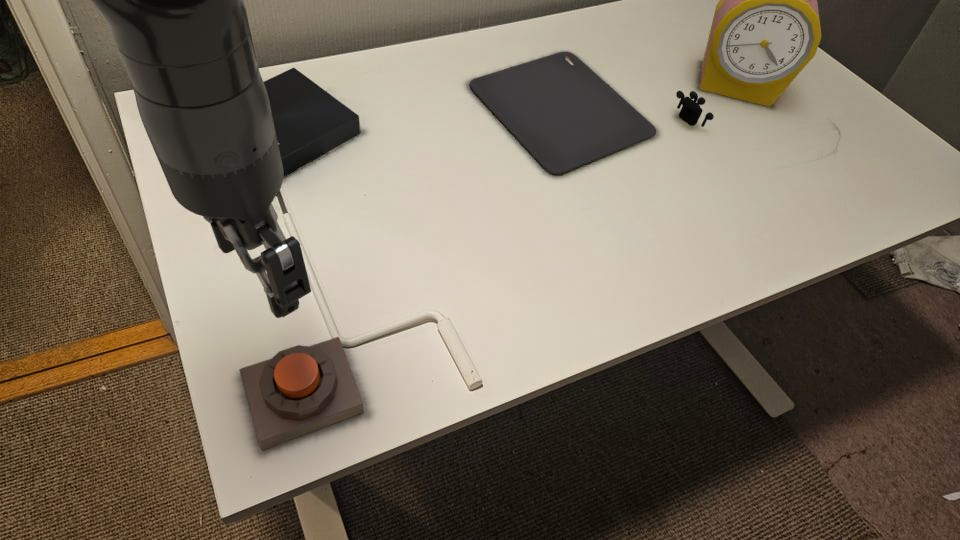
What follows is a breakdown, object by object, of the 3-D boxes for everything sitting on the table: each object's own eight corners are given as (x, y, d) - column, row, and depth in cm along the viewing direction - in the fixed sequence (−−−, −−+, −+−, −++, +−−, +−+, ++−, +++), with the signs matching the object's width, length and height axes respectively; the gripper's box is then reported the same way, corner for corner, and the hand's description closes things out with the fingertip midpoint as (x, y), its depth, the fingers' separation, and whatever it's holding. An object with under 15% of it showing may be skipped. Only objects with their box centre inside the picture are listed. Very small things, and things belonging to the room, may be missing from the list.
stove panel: (246, 212, 74) (240, 194, 72) (173, 145, 80) (165, 126, 77) (369, 139, 84) (368, 121, 82) (296, 84, 90) (293, 66, 87)
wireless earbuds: (707, 132, 92) (720, 106, 88) (696, 138, 91) (710, 111, 87) (672, 107, 95) (684, 80, 91) (662, 112, 94) (673, 85, 90)
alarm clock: (689, 89, 98) (738, -22, 84) (692, 61, 103) (739, -49, 89) (781, 112, 97) (848, 4, 82) (779, 82, 102) (842, -25, 87)
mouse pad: (660, 134, 91) (661, 132, 91) (552, 178, 83) (553, 176, 83) (568, 50, 101) (568, 49, 101) (465, 82, 93) (465, 81, 93)
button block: (262, 450, 57) (253, 434, 54) (243, 378, 62) (235, 360, 58) (364, 412, 61) (362, 395, 57) (340, 346, 65) (337, 327, 62)
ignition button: (282, 405, 57) (279, 397, 55) (272, 369, 59) (269, 360, 57) (325, 390, 58) (323, 382, 56) (313, 355, 60) (311, 346, 58)
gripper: (326, 169, 38) (344, 309, 51) (213, 56, 44) (255, 208, 57) (214, 223, 35) (263, 359, 48) (106, 93, 40) (177, 246, 53)
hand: (259, 277), depth 52 cm, fingers open, 8 cm apart
